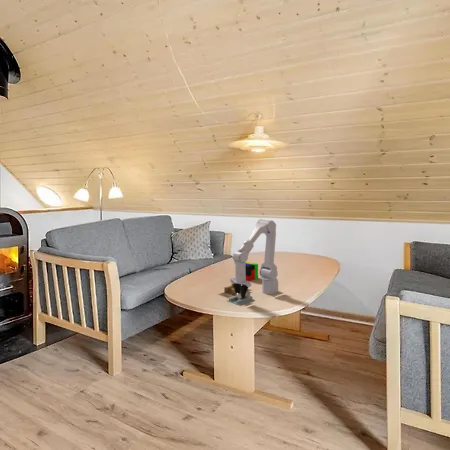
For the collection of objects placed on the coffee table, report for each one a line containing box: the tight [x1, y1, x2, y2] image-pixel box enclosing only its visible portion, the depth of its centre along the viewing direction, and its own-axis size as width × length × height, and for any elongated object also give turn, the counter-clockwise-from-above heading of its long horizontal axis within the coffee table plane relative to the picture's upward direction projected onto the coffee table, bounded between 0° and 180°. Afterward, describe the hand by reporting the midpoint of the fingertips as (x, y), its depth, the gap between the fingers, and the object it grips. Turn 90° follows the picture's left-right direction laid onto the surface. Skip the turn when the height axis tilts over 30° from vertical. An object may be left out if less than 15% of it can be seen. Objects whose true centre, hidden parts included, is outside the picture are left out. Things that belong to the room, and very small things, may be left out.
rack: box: [226, 295, 255, 306], centre depth 205 cm, size 12×10×3 cm
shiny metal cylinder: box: [235, 291, 251, 300], centre depth 205 cm, size 8×4×4 cm, turn 132°
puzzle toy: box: [245, 261, 259, 282], centre depth 252 cm, size 10×10×10 cm
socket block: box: [217, 284, 253, 299], centre depth 219 cm, size 20×9×4 cm, turn 132°
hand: (240, 296), depth 204 cm, fingers closed on shiny metal cylinder, 3 cm apart
